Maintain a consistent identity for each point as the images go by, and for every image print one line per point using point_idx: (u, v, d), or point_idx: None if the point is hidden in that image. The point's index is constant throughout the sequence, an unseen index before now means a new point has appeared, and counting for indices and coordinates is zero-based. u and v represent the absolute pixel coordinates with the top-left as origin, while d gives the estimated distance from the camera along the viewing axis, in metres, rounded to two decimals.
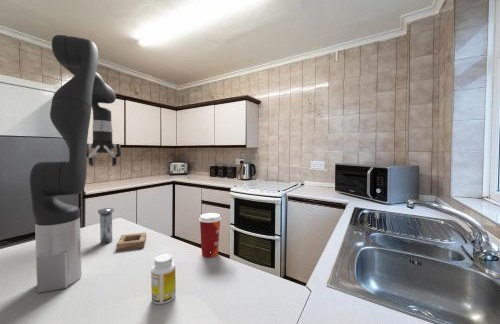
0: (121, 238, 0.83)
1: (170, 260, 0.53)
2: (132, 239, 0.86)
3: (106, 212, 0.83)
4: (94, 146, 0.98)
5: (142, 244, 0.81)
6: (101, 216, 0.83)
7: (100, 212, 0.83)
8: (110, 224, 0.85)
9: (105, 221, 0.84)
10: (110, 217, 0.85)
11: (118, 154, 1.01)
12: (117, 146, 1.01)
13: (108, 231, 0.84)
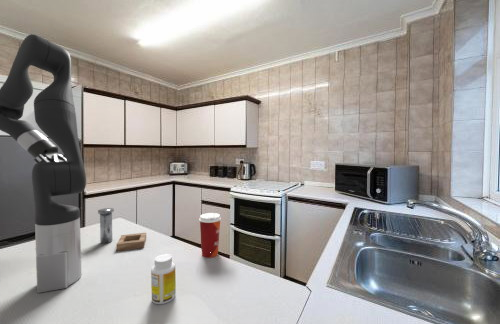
0: (121, 238, 0.83)
1: (170, 260, 0.53)
2: (132, 239, 0.86)
3: (106, 212, 0.83)
4: (50, 157, 0.79)
5: (142, 244, 0.81)
6: (101, 216, 0.83)
7: (100, 212, 0.83)
8: (110, 224, 0.85)
9: (105, 221, 0.84)
10: (110, 217, 0.85)
11: None
12: None
13: (108, 231, 0.84)
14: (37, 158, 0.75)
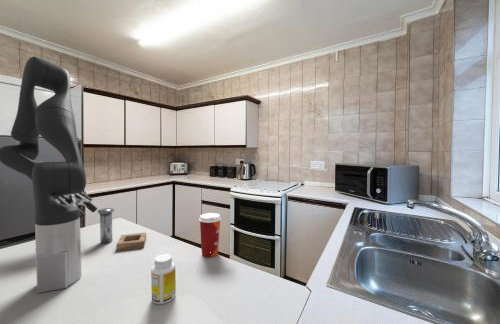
0: (121, 238, 0.83)
1: (170, 260, 0.53)
2: (132, 239, 0.86)
3: (106, 212, 0.83)
4: (68, 197, 0.80)
5: (142, 244, 0.81)
6: (101, 216, 0.83)
7: (100, 212, 0.83)
8: (110, 224, 0.85)
9: (105, 221, 0.84)
10: (110, 217, 0.85)
11: (90, 198, 0.90)
12: (82, 192, 0.89)
13: (108, 231, 0.84)
14: (56, 200, 0.76)
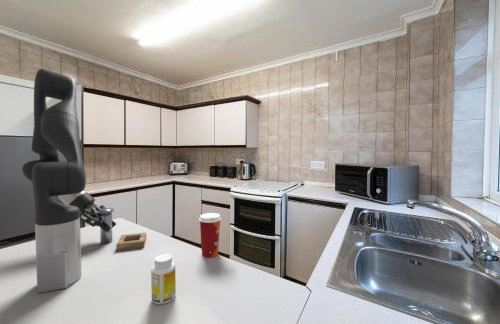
0: (121, 238, 0.83)
1: (170, 260, 0.53)
2: (132, 239, 0.86)
3: (106, 212, 0.83)
4: (91, 212, 0.82)
5: (142, 244, 0.81)
6: (101, 216, 0.83)
7: (100, 212, 0.83)
8: (110, 224, 0.85)
9: (105, 221, 0.84)
10: (110, 217, 0.85)
11: None
12: (103, 206, 0.90)
13: (108, 231, 0.84)
14: (83, 217, 0.78)
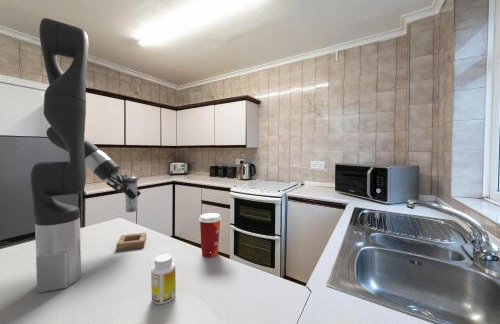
0: (121, 238, 0.83)
1: (170, 260, 0.53)
2: (132, 239, 0.86)
3: (132, 179, 0.81)
4: (117, 178, 0.79)
5: (142, 244, 0.81)
6: (127, 183, 0.81)
7: (126, 179, 0.80)
8: (135, 192, 0.82)
9: (131, 189, 0.81)
10: (136, 185, 0.82)
11: None
12: (127, 176, 0.88)
13: (134, 199, 0.82)
14: (110, 182, 0.75)
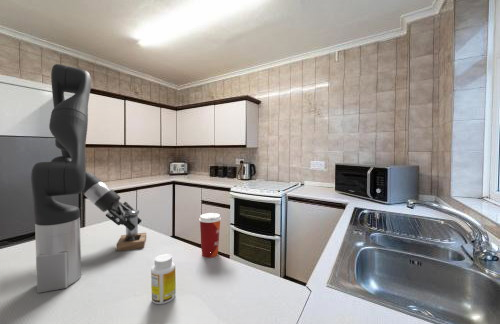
0: (121, 238, 0.83)
1: (170, 260, 0.53)
2: None
3: (132, 214, 0.81)
4: (117, 209, 0.79)
5: (142, 244, 0.81)
6: (127, 218, 0.81)
7: (126, 214, 0.81)
8: (136, 226, 0.83)
9: None
10: (136, 219, 0.83)
11: None
12: (127, 203, 0.88)
13: (134, 233, 0.82)
14: (109, 214, 0.76)
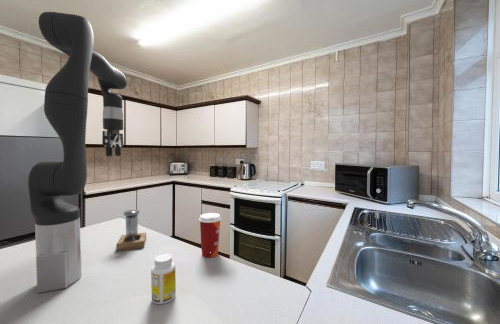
0: (121, 238, 0.83)
1: (170, 260, 0.53)
2: None
3: (132, 214, 0.81)
4: (113, 134, 0.91)
5: (142, 244, 0.81)
6: (127, 218, 0.81)
7: (126, 214, 0.81)
8: (136, 226, 0.83)
9: (131, 223, 0.82)
10: (136, 219, 0.83)
11: (122, 144, 1.00)
12: (122, 136, 1.00)
13: (134, 233, 0.82)
14: (105, 132, 0.87)
